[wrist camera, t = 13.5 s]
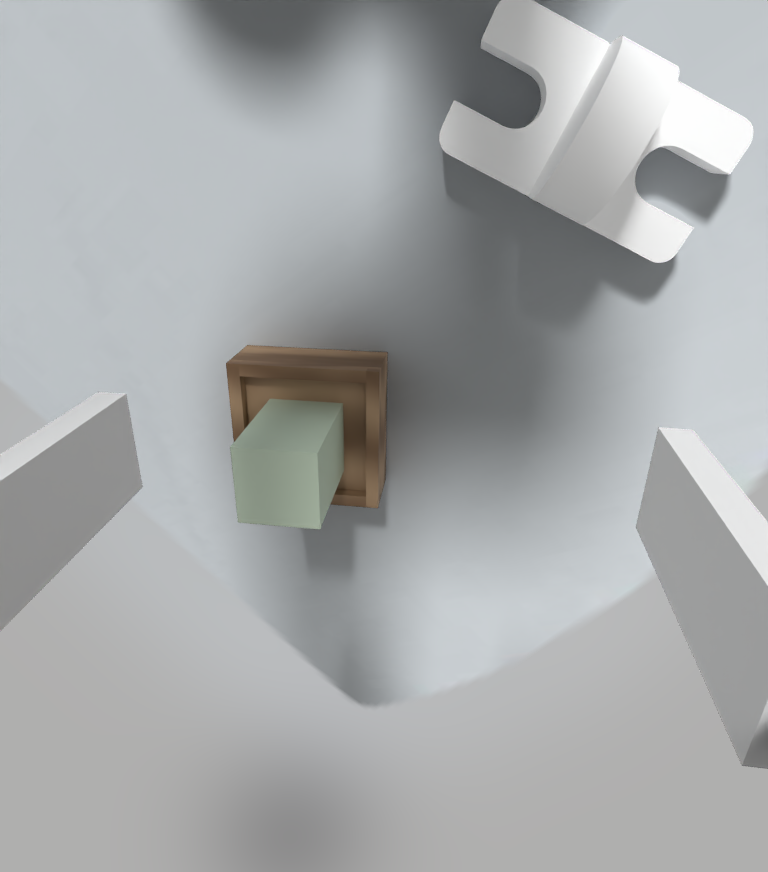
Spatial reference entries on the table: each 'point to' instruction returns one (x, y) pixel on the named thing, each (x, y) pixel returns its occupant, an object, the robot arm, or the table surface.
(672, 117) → the white slotted block
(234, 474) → the green block
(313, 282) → the table surface
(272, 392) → the brown crate
